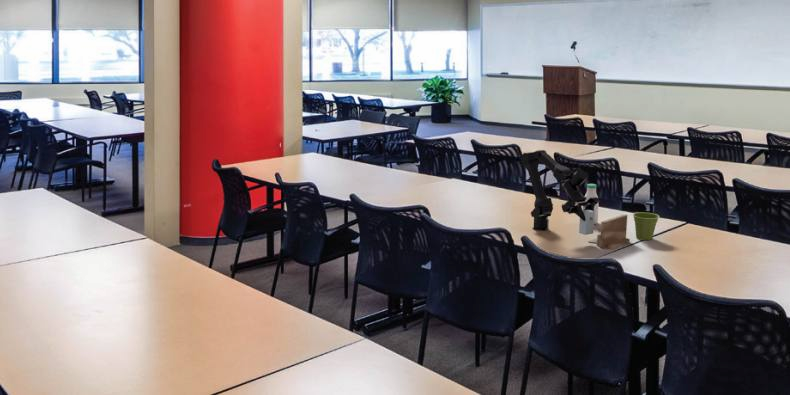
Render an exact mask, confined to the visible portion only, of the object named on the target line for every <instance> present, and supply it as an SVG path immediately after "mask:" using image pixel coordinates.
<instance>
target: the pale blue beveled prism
mask: <svg viewBox="0 0 790 395" xmlns="http://www.w3.org/2000/svg"><path fill="white" fill-rule="evenodd" d="M582 210H583V209H582ZM583 213H584V215H585V219H586V220H585V221H583V220H582V219H581V218H580V217H579V227H578V229H579V230H578V234H581V235H584V236H588V235H593V234H594V228H595V224H594V216H595V211H592V210H583Z"/></svg>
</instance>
